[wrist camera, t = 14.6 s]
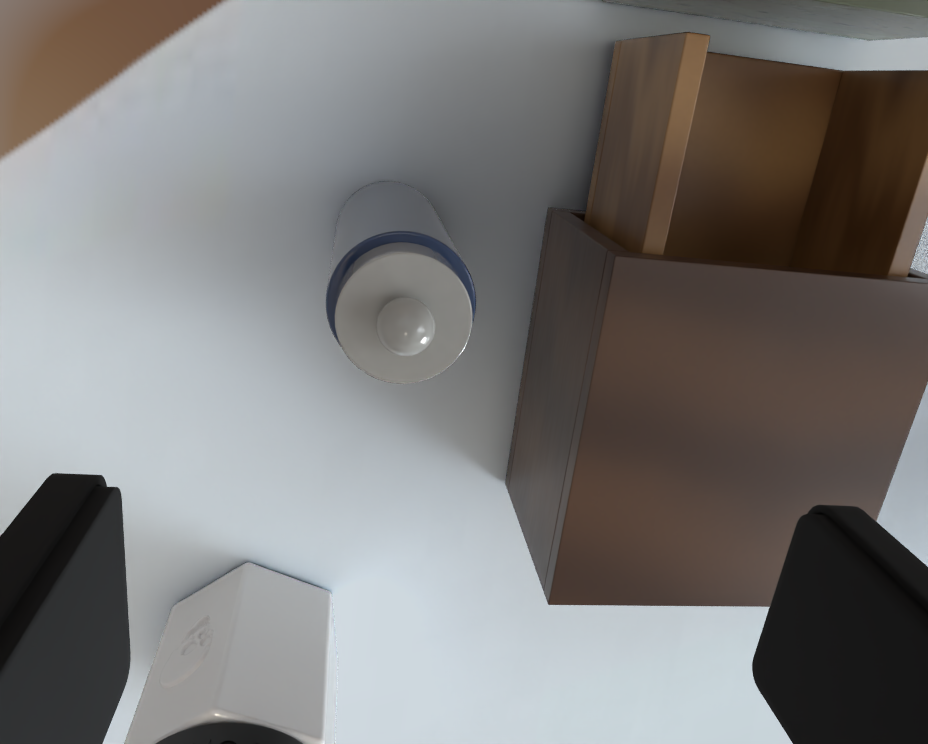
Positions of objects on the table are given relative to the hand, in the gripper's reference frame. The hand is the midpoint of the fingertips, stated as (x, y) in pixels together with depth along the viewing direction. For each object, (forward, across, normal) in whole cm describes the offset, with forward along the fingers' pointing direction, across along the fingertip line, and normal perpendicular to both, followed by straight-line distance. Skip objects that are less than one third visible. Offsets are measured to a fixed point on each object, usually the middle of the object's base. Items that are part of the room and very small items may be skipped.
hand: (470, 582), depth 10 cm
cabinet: (+23, -12, +5) cm, 27 cm away
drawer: (+22, -12, -7) cm, 27 cm away
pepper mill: (+23, +1, 0) cm, 23 cm away
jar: (+23, +6, +21) cm, 32 cm away
